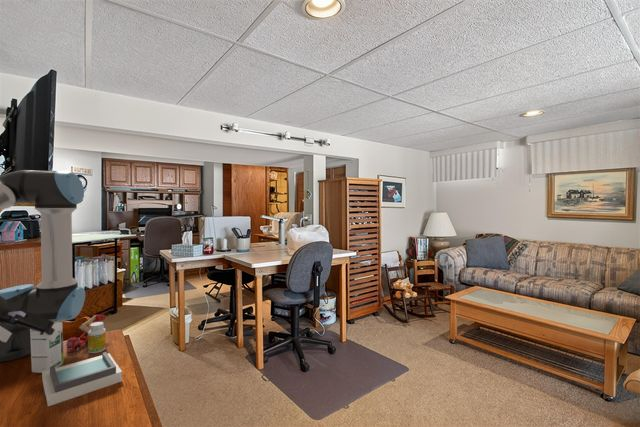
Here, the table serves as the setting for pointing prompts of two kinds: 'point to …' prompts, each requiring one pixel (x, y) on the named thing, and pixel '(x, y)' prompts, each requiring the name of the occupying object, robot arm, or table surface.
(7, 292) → the robot arm
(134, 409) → the table surface
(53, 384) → the dock
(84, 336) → the toy fire truck
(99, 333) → the supplement bottle
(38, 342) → the syrup box
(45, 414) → the table surface
